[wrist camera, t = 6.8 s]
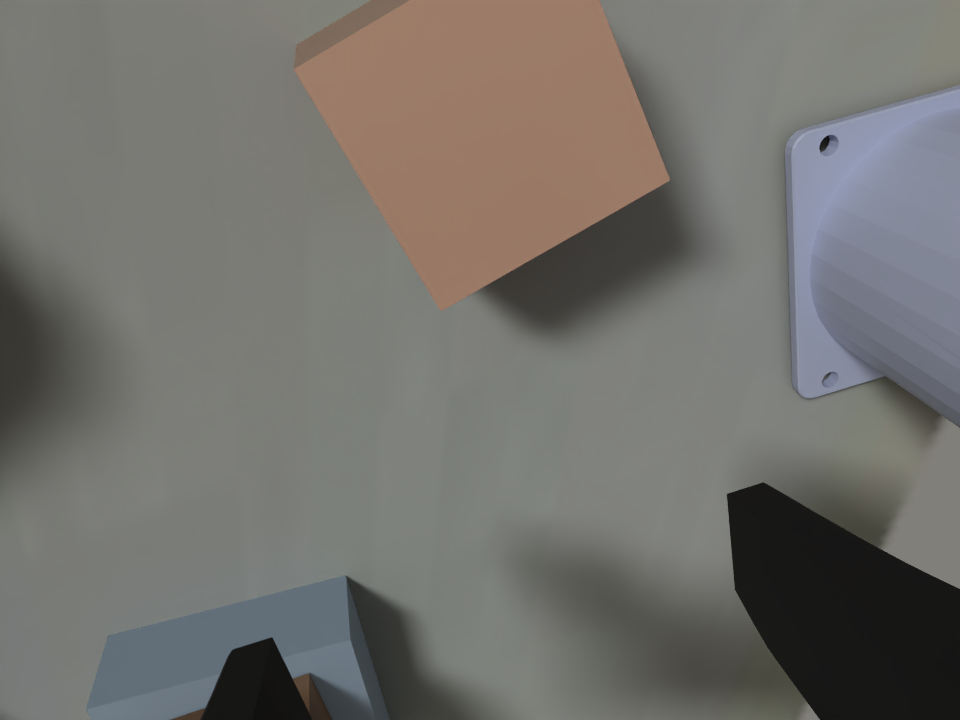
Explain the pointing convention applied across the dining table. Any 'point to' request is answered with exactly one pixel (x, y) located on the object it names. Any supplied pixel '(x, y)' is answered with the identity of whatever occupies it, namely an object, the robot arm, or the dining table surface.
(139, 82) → the dining table surface
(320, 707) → the walnut block
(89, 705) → the blue slab
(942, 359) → the robot arm
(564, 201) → the terracotta block
